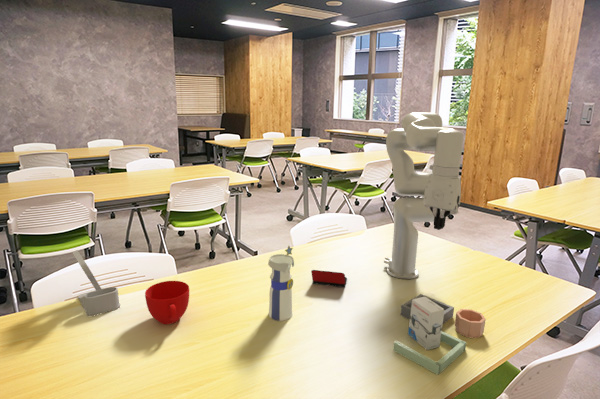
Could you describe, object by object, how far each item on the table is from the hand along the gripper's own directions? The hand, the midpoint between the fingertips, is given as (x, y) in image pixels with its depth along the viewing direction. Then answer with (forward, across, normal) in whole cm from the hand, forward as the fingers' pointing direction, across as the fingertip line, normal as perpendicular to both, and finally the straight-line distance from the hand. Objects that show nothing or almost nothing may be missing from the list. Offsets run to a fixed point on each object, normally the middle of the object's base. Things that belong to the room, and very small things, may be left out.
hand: (438, 228), depth 122 cm
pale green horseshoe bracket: (+28, +12, -20) cm, 37 cm away
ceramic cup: (+29, -47, -70) cm, 89 cm away
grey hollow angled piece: (+30, -74, -84) cm, 115 cm away
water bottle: (+29, -29, -40) cm, 58 cm away
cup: (+29, +15, -2) cm, 32 cm away
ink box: (+29, +9, -17) cm, 34 cm away
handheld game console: (+30, -35, -12) cm, 48 cm away
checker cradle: (+29, +2, -4) cm, 29 cm away
